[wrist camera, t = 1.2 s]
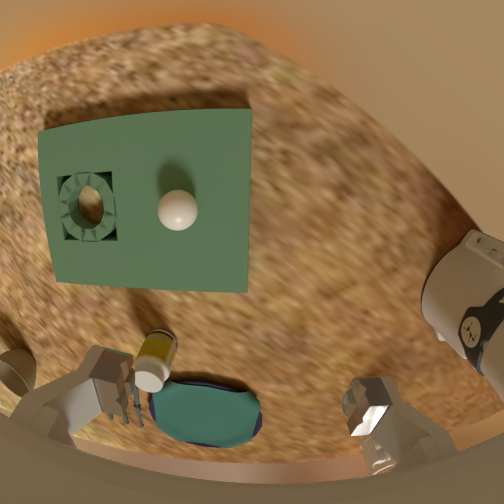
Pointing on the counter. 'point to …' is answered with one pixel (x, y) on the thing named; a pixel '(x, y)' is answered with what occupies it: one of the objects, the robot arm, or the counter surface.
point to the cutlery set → (203, 413)
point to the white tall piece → (375, 455)
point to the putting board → (150, 199)
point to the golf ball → (177, 210)
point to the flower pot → (18, 371)
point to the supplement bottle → (155, 360)
